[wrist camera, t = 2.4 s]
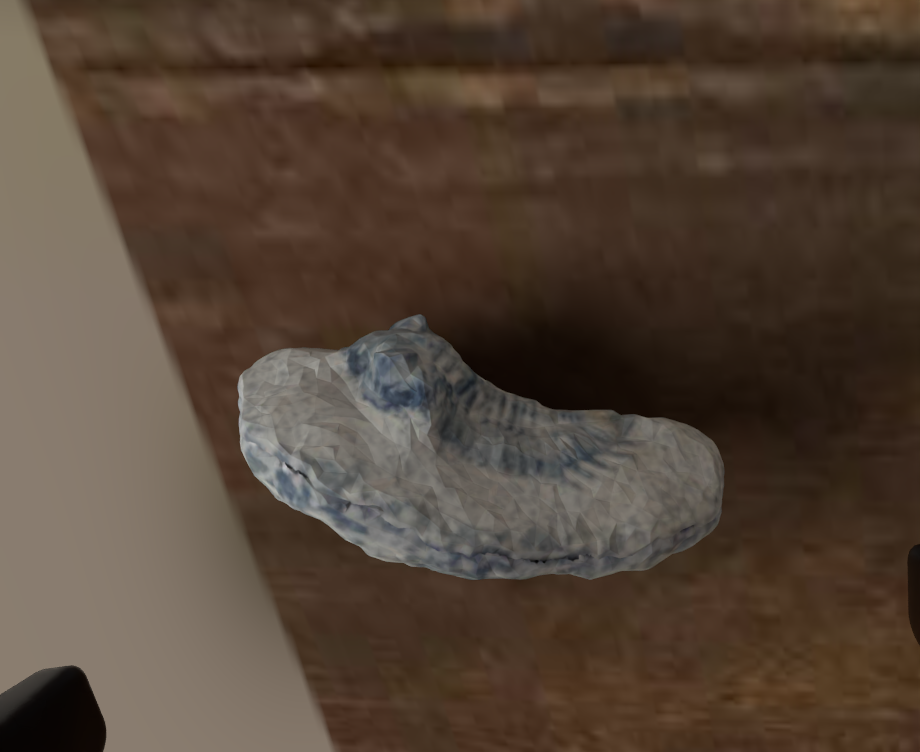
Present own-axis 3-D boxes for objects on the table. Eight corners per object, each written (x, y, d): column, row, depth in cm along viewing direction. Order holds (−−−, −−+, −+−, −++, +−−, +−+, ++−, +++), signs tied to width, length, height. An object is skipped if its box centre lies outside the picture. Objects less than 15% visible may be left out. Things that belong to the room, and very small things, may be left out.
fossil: (707, 356, 15) (806, 463, 10) (656, 510, 16) (725, 671, 11) (291, 265, 15) (196, 332, 10) (268, 428, 16) (172, 557, 11)
